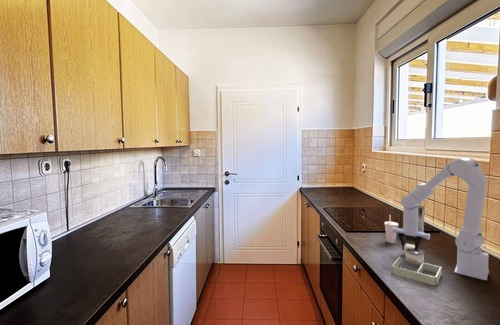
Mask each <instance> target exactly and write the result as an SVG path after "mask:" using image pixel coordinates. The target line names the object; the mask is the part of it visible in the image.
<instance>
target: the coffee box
mask: <svg viewBox="0 0 500 325" xmlns="http://www.w3.org/2000/svg"><path fill="white" fill-rule="evenodd" d="M402 207H403V206H402ZM425 208H426V207H425V206H423V205H420V206H419V207H418V231H419V232H423V233H425V232H424V231H425V229H424V227H425ZM402 209H403V213H404V207H403V208H402ZM403 213H402V214H403ZM407 236H408V237H412V238H415V236H410V235H406V237H407Z"/></svg>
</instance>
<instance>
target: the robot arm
mask: <svg viewBox="0 0 500 325" xmlns="http://www.w3.org/2000/svg"><path fill="white" fill-rule="evenodd" d="M455 176H456V177H457V178H460V179H462V180H463V181H464V182H465V183H466V184H467V185H468V188H467V194H466V201H465V208H464V215H463V221H462V223H463V224H462V226H461V228H460V229H459V233H458V234H457V236H456V238H455V242H454V243H455V245H456V247H457V249H456V250H457V253H456V254H457V255H456V266H455V268H454V273H455V274H458V275H463V276H468V277H471V278H475V279H479V280H483V281H488V276H489V274H490V269H489V253H487V252H484V251H482V248H481V246H483V244H484V243H485V238H484V236H483V228H482V227H481V225H482V218H483V212H484V205H485V200H486V198H485V197H486V193H487V192H486V191H487V185H488V180H487V177H486V175H485V174H484V171H483V170H482V168H481V164H480V163H479V162H478V161H476V160H475V159H472V158H471V157H464V158H456V159H453V160H451V161H450V162H449V163H447V164H446V165H445V166H443V168H441V169H440V170H439V171H438V172H437V173H436V174H435V175H433V177H431V179H429V180H428V181H427V182H426V183H425V182H424V183H418V184H416V188H414V189H413V190H411V191H409V192H408V195H403V196H402V198H401V201H400V202H401V205H402V207H404V213H402V228H401V227H397V228H393V229H392V233H397V234H398V235H397V238H398V240H399V241H400V244H401V247H402V251H404V245H405V244H406V243H407V235H410V236H409V237H412V236H415V237H414V245H415V249H418V250H419V246H420V244H421V242H422V241H423V239H425V240H430V239H431V234H430V233H426V232H424V233H423V232H419V231H418V207H419V206H422V205H421V204H422V203H423V202H424V201H426V200H427V199H428V198H429V197H430V196H431V195H433V194H434V189H435V188H436V187H437V186H439V185H440V184H442V183H443V182H444V181H446V180H447V179H448V178H451V177H455Z"/></svg>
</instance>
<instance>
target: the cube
mask: <svg viewBox="0 0 500 325" xmlns="http://www.w3.org/2000/svg"><path fill="white" fill-rule="evenodd" d="M409 248H412V249H415V244H412V243H411V244H410V243H407V242H406V244H405V245H404V250H403V256H406V249H409Z"/></svg>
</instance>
